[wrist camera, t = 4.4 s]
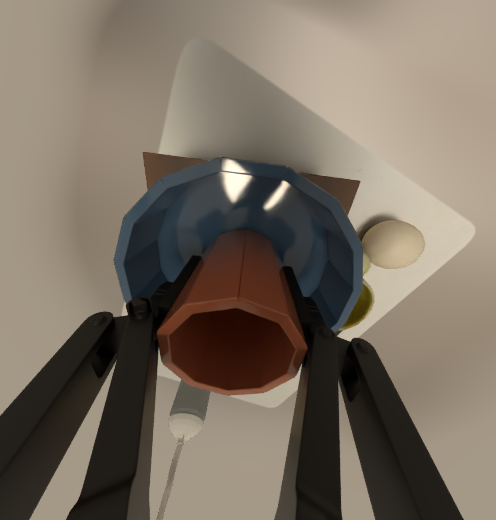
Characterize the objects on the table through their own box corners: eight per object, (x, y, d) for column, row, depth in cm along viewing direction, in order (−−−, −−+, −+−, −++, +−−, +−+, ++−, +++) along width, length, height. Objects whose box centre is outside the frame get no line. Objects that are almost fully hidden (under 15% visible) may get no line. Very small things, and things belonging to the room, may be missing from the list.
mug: (331, 318, 34) (350, 352, 24) (286, 288, 35) (287, 309, 25) (374, 266, 31) (415, 280, 21) (324, 235, 32) (341, 236, 22)
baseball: (382, 261, 30) (414, 284, 24) (345, 248, 29) (368, 268, 23) (411, 225, 27) (455, 241, 21) (371, 209, 26) (405, 221, 20)
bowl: (364, 178, 15) (418, 183, 10) (304, 332, 23) (318, 375, 18) (139, 148, 14) (79, 138, 9) (163, 317, 22) (138, 357, 18)
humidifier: (182, 363, 45) (113, 552, 23) (191, 344, 41) (120, 546, 19) (212, 372, 46) (175, 558, 24) (223, 354, 43) (192, 553, 21)
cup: (286, 232, 16) (326, 307, 8) (271, 298, 20) (285, 401, 11) (205, 222, 16) (147, 287, 7) (205, 291, 20) (165, 390, 11)
